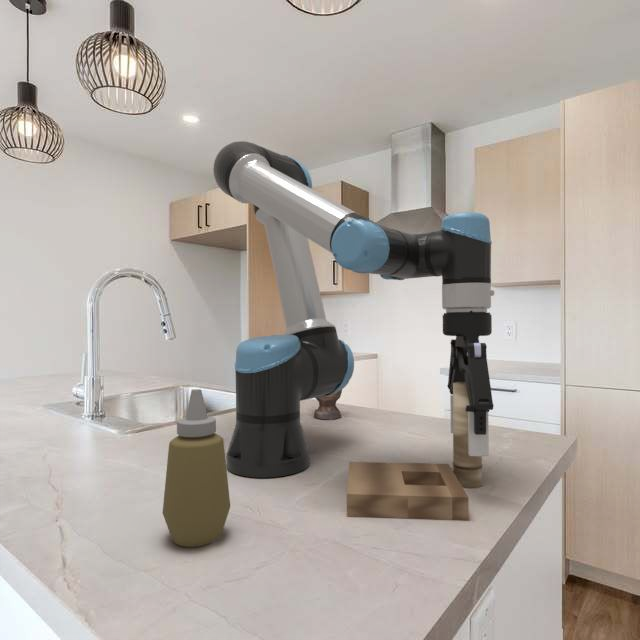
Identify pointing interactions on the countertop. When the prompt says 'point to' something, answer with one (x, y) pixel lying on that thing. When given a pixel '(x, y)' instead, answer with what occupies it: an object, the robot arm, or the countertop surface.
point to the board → (405, 491)
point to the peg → (463, 441)
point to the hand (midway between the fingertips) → (467, 443)
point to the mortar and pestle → (328, 407)
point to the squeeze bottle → (196, 479)
